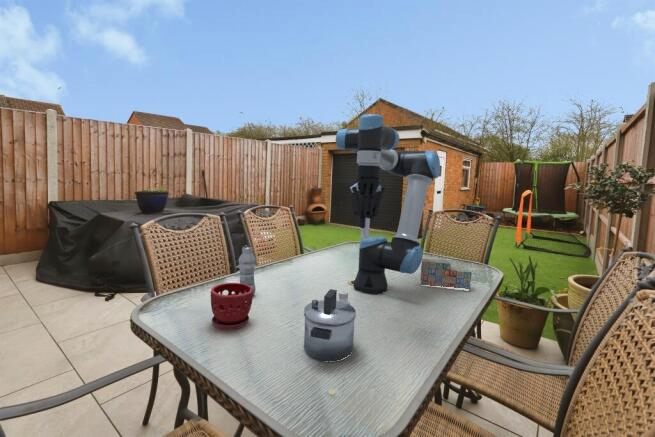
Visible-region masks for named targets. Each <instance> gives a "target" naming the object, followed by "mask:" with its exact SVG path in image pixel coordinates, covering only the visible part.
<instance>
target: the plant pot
mask: <svg viewBox="0 0 655 437" xmlns="http://www.w3.org/2000/svg"><path fill="white" fill-rule="evenodd" d="M224 291H227V292H228V293H227V294H223V292H224ZM245 291H246V293H245ZM233 292H234V293H233ZM240 292H241V293H242V294H239V293H240ZM253 296H254V295H253V288H252V287H251V286H249V285H247V284H242V283H240V282H226V283H220V284H217V285H215V286H213V287H212V288H211V290H210V307H211V312H212V314H213V316H212V317H211V323H212V324H213V325H214V326H215V327H216V328H217V329H221V330H235V329H238V328H242V327H243V326H245V325H246V324H247V323H248V322H249V320H250V316H249V313H250V311H251V309H252V304H253V299H254V298H253Z"/></svg>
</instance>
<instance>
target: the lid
mask: <svg viewBox="0 0 655 437" xmlns="http://www.w3.org/2000/svg"><path fill="white" fill-rule="evenodd" d="M337 292H338V290H337V289H331V288H330V289H329V290H328V291H327V292H326V293H325V294H324V296H323V299H324V300H323V299H321V300H317V299H312V300H311V302H310V303H307V305H305V306H304V309H303V316H304V319H305V318H306V319H307V320H309V321H310V322H313V323H315V324H319V325H324V326H340V325H345V324H348V323H350V322H352V321H353V320H354V321H355V319H356V317H357V315H356V314H357V311H356V309H355V308H354V306H352V305H351V304H350V305H349V304H347V303H344V302H340V301H337Z"/></svg>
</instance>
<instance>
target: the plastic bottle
mask: <svg viewBox="0 0 655 437" xmlns="http://www.w3.org/2000/svg"><path fill="white" fill-rule="evenodd" d="M241 252H242V253H241V254H240V256H239V257H238V265H239V273H240V274H239V283H242V284H247V285H249V286H251V287H252V288H253V296H254V295H255V293H256V284H255V266H256V258H255V256H254V254H253V253H252V252H253V246H251V245H243V246H242V249H241ZM245 293H246V291H245ZM240 294H242V293H241V292H240V293H239V295H240Z"/></svg>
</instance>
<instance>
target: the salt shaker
mask: <svg viewBox="0 0 655 437" xmlns="http://www.w3.org/2000/svg"><path fill="white" fill-rule="evenodd" d="M348 298H349V292H348V291H346V290H340V291H338V300H337V299H336V301H340V302H344V303H347V304H349V305H351V301H349V300H348Z"/></svg>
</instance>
